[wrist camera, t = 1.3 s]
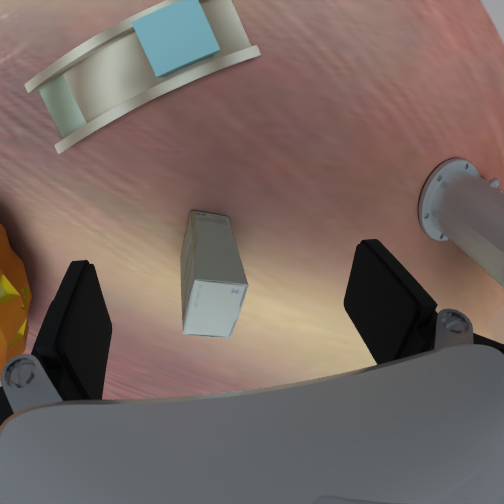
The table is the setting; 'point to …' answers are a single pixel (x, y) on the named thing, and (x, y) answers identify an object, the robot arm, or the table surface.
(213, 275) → the skincare box
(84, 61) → the twin rail frame
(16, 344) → the decorative pumpkin
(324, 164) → the table surface
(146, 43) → the block
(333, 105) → the table surface
